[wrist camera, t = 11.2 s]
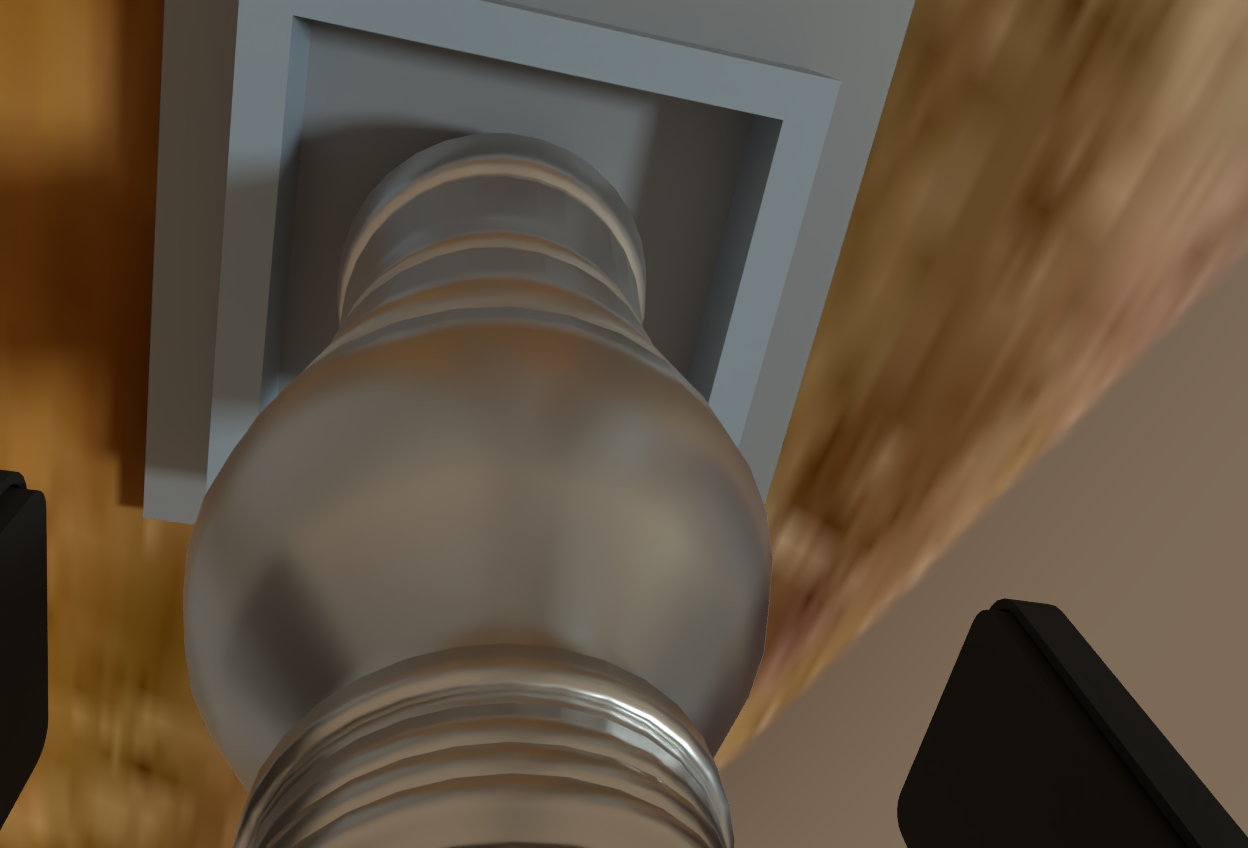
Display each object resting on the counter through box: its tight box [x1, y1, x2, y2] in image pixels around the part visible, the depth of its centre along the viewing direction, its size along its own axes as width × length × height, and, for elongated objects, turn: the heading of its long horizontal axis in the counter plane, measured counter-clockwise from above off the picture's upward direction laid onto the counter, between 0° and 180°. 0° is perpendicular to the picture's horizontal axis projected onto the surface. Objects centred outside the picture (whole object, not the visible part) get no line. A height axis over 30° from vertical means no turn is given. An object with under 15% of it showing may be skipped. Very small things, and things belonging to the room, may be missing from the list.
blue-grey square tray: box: [143, 0, 915, 524], centre depth 24 cm, size 16×16×3 cm
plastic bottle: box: [183, 133, 773, 848], centre depth 16 cm, size 6×7×20 cm
